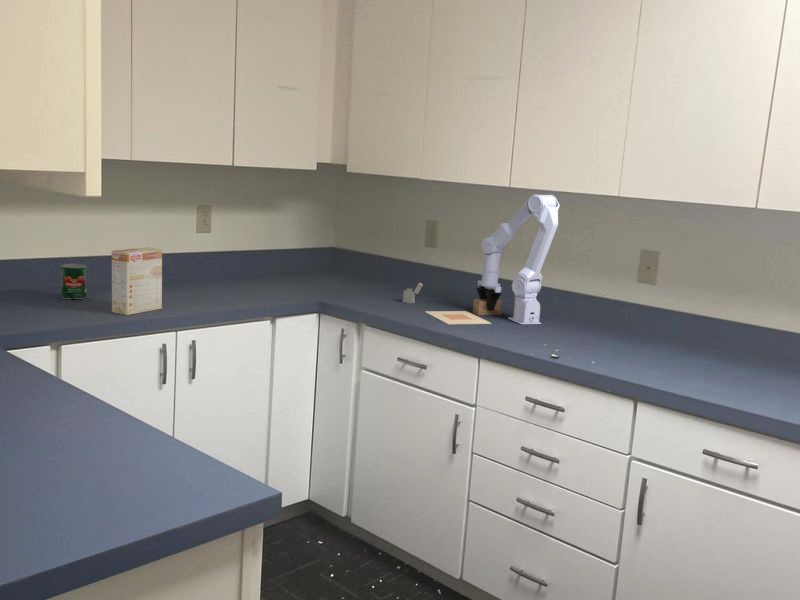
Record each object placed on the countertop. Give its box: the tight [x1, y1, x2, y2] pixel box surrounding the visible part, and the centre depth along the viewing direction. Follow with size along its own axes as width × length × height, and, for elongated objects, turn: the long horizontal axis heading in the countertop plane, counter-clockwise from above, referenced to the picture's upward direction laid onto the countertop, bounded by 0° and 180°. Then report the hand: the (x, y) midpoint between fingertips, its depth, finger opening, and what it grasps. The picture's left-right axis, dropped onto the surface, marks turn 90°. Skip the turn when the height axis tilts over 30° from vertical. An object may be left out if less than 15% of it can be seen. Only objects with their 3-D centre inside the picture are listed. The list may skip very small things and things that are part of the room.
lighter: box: [402, 282, 424, 304], centre depth 298 cm, size 7×2×8 cm, turn 68°
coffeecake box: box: [111, 246, 163, 316], centre depth 253 cm, size 15×7×20 cm, turn 152°
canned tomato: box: [60, 263, 88, 299], centre depth 267 cm, size 8×8×11 cm
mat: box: [424, 310, 492, 325], centre depth 276 cm, size 20×16×1 cm
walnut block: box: [472, 298, 503, 316], centre depth 287 cm, size 9×4×5 cm, turn 111°
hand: (487, 309), depth 287 cm, fingers open, 5 cm apart
